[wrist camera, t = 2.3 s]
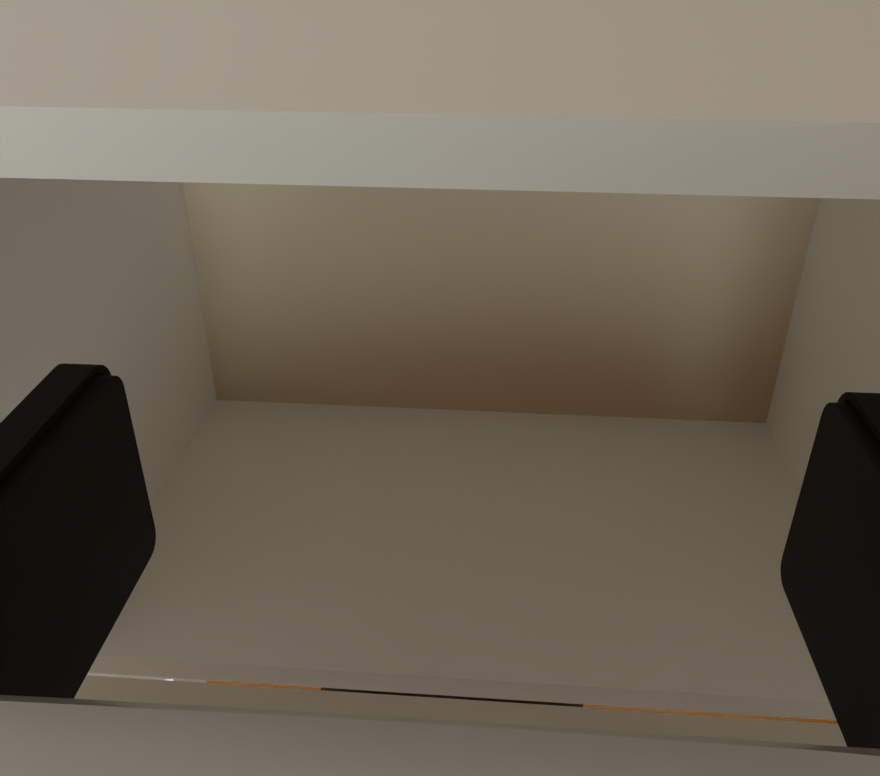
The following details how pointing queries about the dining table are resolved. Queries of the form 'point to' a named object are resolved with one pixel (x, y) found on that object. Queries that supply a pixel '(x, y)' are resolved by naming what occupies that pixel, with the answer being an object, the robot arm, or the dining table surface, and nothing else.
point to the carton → (457, 426)
